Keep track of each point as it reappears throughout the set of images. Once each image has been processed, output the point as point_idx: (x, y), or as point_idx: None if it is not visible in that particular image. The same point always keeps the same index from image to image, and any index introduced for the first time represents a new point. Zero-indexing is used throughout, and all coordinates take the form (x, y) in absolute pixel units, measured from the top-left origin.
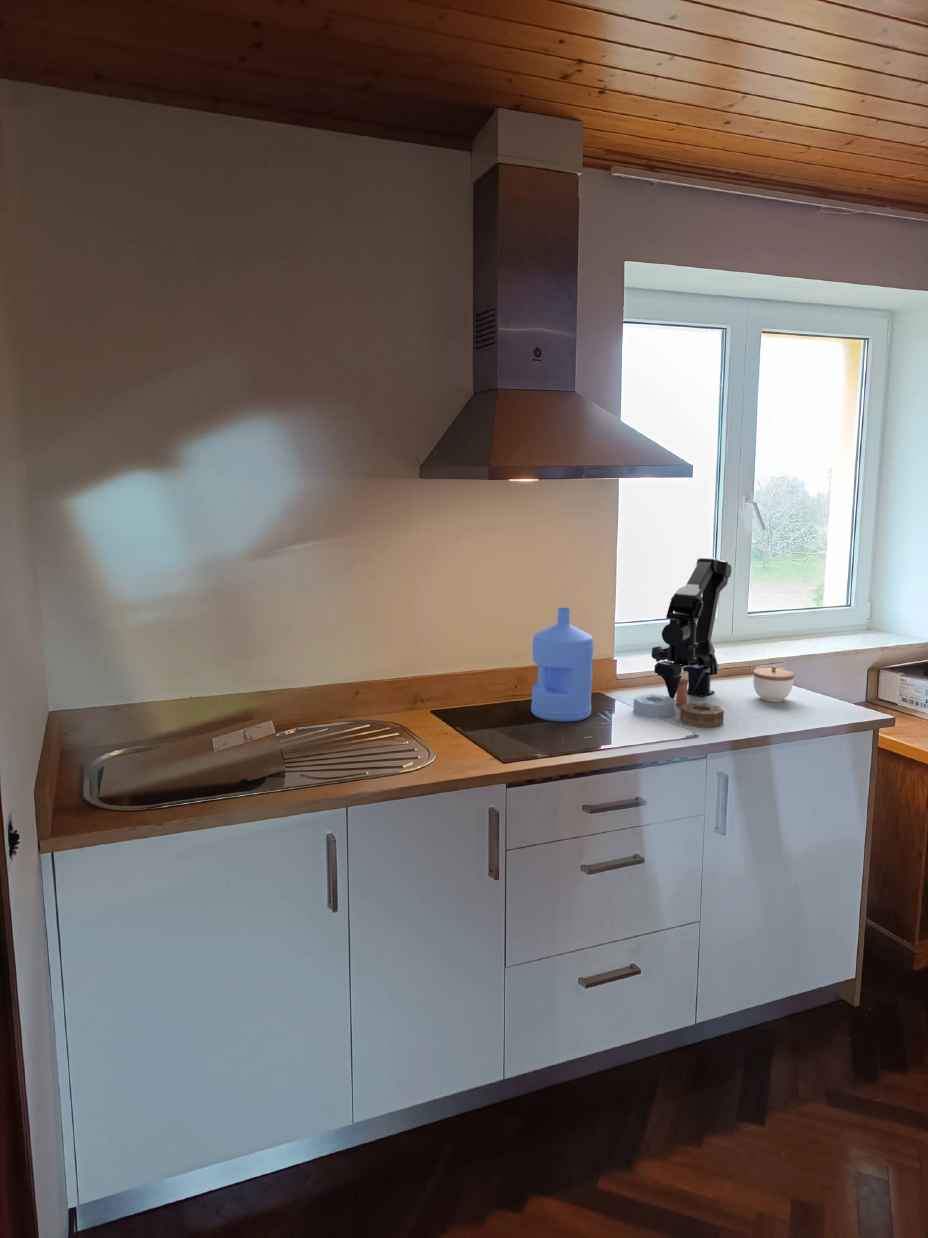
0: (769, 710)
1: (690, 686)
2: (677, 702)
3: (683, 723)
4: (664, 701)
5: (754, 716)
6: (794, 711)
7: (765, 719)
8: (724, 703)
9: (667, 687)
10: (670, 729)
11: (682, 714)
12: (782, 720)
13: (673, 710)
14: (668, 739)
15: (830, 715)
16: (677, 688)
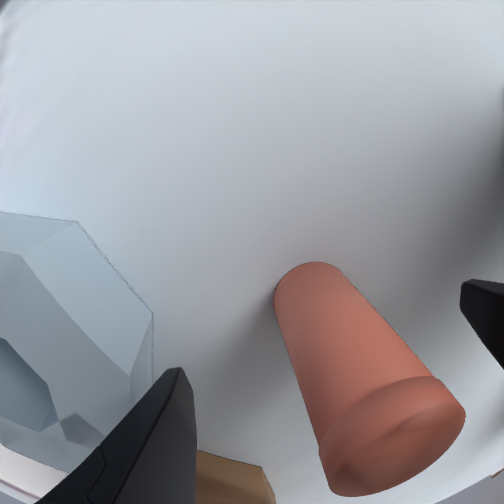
0: (484, 429)
1: (494, 312)
2: (277, 317)
3: None
4: (49, 443)
5: None
6: (499, 436)
7: (395, 491)
8: None
9: (110, 445)
10: (44, 474)
11: None
12: (414, 493)
13: None
14: (23, 489)
15: (498, 456)
16: (308, 391)
